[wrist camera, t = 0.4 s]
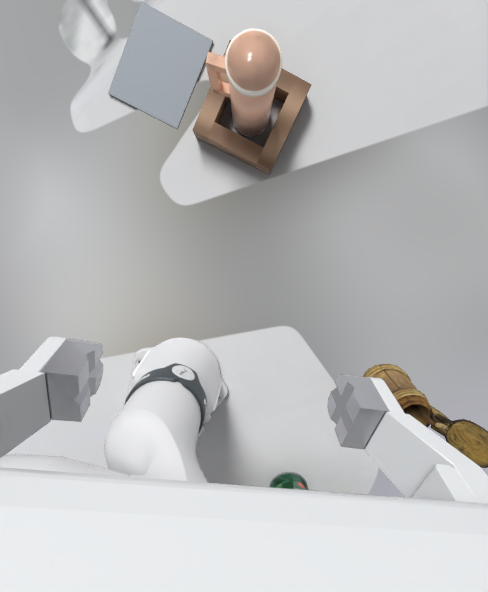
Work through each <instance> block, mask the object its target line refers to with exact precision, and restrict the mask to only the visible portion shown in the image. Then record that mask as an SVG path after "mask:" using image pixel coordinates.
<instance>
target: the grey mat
mask: <svg viewBox="0 0 488 592" xmlns="http://www.w3.org/2000/svg"><path fill="white" fill-rule="evenodd" d="M212 43H213V40H211V39H209V38H207V37H205V36H204V35H202V34H200V33H198V32H196V31H194V30H193V29H191V28H189V27H187V26H185V25H183V24H182V23H180V22H178V21H176V20H174V19H172V18H171V17H169V16H167V15H165V14H163V13H162V12H160V11H158V10H156V9H154V8H152V7H151V6H149V5H147V4H145V3H143V2H141V3H140V6H139V9H138V12H137V14H136V17H135V20H134V23H133V26H132V28H131V31H130V34H129V37H128V39H127V42H126V45H125V48H124V51H123V53H122V56H121V59H120V62H119V65H118V67H117V70H116V73H115V76H114V78H113V81H112V84H111V87H110V90H109V92H108V94H110V95H112V96H113V97H115V98H117V99H119V100H121V101H123V102H125V103H127V104H129V105H131V106H133V107H135V108H137V109H139V110H141V111H143V112H145V113H147V114H148V115H150V116H153V117H154V118H156V119H158V120H160V121H162V122H164V123H166V124H168V125H170V126H172V127H174V128H176V129H178V127H179V124H180V122H181V120H182V117H183V115H184V112H185V110H186V107H187V105H188V102H189V100H190V98H191V95H192V93H193V90H194V88H195V85H196V83H197V80H198V78H199V75H200V73H201V71H202V68H203V66H204V63H205V61H206V58H207V54H208V52H209V51H210V48H211V46H212Z"/></svg>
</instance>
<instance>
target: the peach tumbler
mask: <svg viewBox="0 0 488 592" xmlns="http://www.w3.org/2000/svg"><path fill="white" fill-rule="evenodd" d="M206 67H207V71H208V76H209V80H210V85H211V89H212V92H213V93H216V94H219V95H222V96H226V97H229V98H230V99H231V108H232V118H233V123H234V126H235V127H236V129H237V130H238V131H239V132H240V133H241V134H243V135H245V136H256V135H258V134H260V133H262V132H263V131H264V129H265V128H266V127H267V124H268V121H269V116H270V112H271V107H272V102H273V97H274V93H275V88H276V83H277V81H278V79H279V76H280V72H281V68H282V53H281V49H280V47H279V45H278V43H277V41H276V40H275V39H274V37H273V36H272V35H270V34H269V33H267V32H266V31H264V30H261V29H247V30H244V31H242V32H240V33H239V34H237V35H236V36H235V37H234V38H233V39H232V41H231V42H230V44H229V46H228V48H227V51H226V56H225V57H224V56H221V55H217V54H214V53H211V52H208V54H207V58H206ZM221 73H224V74H227V77H228V80H229V84H228V83H224V82H222V79H221Z"/></svg>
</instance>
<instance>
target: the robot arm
mask: <svg viewBox="0 0 488 592" xmlns="http://www.w3.org/2000/svg"><path fill="white" fill-rule="evenodd" d="M102 354H103V346H102V344H101V343H96V342H90V341H83V340H76V339H70V338H69V339H67V338H61V337H54V336H52V337H49V338H47V339H46V341H45V342H44V343H43V344H42V345H41V346H40V347H39V348H38V350H36V352H35V353H34V354H33V355H32V356H31V357H30V358H29V359H28V361H27V362H26V363H25V364H24V365H23V366H22V367H21V368H20V370H15V369H13V370H11V371H8V372H6V373H4V374H1V375H0V592H488V476H487V475H486V474H485V473H484V472H483V470H482V469H481V467H480V466H478V465H477V464H476V463H474V462H473V461H472V460H470V459H469V458H468V457H466V456H465V455H463V454H462V453H461V452H459V451H458V450H457V449H455V448H454V447H453V446H451V445H450V444H449V443H447V442H446V441H445V440H443V439H442V438H441V437H439V436H438V435H436V434H435V433H434V432H432V431H431V430H430V429H428V428H427V427H426V426H424V425H423V424H422V423H420V422H419V421H418V420H416V419H415V418H414V417H412V416H411V415H410V414H405V413H404V411H403V410H402V408H401V407H400V405H399V403H398V402H397V400H396V399H395V397H394V396H393V394H392V393H391V391H390V389H389V388H388V386H387V385H386V383H385V382H384V381H383V380H382V379H381V378H372V377H360V376H352V375H344V374H340V375H339V376H338V377H337V379H336V382H335V383H336V386H337V388H336V389H334V390H333V391H331V393H330V396H329V398H328V413H329V415H330V418H331V419H332V420H333V421H334V422H335V423H336V424H337V425H336V427H335V429H334V430H335V432H336V435H337V438H338V440H339V443H340V446H341V447H349V448H357V449H365V450H364V451H365V452H366V453H367V454H368V456H369V457H370V458H371V459H372V460H373V461H374V462H375V463H376V465H377V466H378V467H379V468H380V469H381V470H382V471H383V473H384V474H385V475H386V476H387V477H388V478H389V479H390V480H391V482H392V483H393V484H394V485H395V486H396V487H397V488H398V489H399V491H400V492H401V493H402V494H403V495H404V496H405V497H406V498H405V497H392V496H378V495H365V494H352V493H338V492H325V491H311V490H298V489H285V488H271V487H258V486H244V485H231V484H217V483H209V482H208V481H207V479H206V477H205V475H204V474H203V472H202V470H201V468H200V465H199V463H198V460H197V457H196V445H197V438H199V437H200V436H201V434H202V432H203V430H204V426H203V424H204V423H205V422H207V423H208V422H209V421H210V419H211V414H212V413H213V412H214V411H215V409H216V408H217V407H218V406H219V405H220V403H221V402H222V401H223V400H224V398H225V397H226V396H227V393H228V388H227V386H226V384H225V382H224V381H223V379H222V378H221V374H220V367H219V364H218V361H217V359H216V357H215V356H214V354H213V353H212V352H211V351H210V349H208V348H207V347H206V346H205V345H203V344H202V343H200V342H198V341H196V340H192V339H189V338H173V339H169V340H166V341H164V342H162V343H160V344H159V345H157V346H155V347H152V348H145V349H140V350H139V351H137V353H136V355H135V359H134V363H133V368H132V373H131V378H130V383H129V388H128V393H127V398H126V401H125V405H124V406H123V408H122V409H121V411H120V412H119V413H118V415H117V416H116V418H115V419H114V420H113V422H112V423H111V425H110V427H109V429H108V431H107V434H106V437H105V444H104V450H105V457H106V461H107V465H108V468H109V469H106V468H102V467H99V466H95V465H91V464H87V463H84V462H80V461H76V460H73V459H69V458H65V457H58V456H43V455H13V454H10V455H5V454H7V453H8V452H9V451H11V450H12V449H13V448H15V447H16V446H18V445H19V444H20V443H22V442H23V441H24V440H26V439H27V438H28V437H30V436H31V435H33V434H34V433H35V432H37V431H38V430H39V429H41V428H42V427H43V426H45V425H46V424H48V423H49V422H50V421H51V420H64V421H79V422H81V421H82V419H83V417H84V415H85V413H86V411H87V409H88V408H89V406H90V397H91V396H92V395H94V394H96V392H97V390H98V388H99V386H100V383H101V379H102V374H103V364H102V362H101V361H100V358H101V356H102ZM140 360H141V362H139V361H140ZM219 396H220V397H219Z"/></svg>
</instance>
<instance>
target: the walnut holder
mask: <svg viewBox="0 0 488 592" xmlns="http://www.w3.org/2000/svg"><path fill="white" fill-rule="evenodd" d="M230 42H231V40H230V41H229V44H230ZM229 44H228V46H229ZM228 46H227V48H228ZM226 51H227V49H226ZM226 51H225V53H224V57H225V56H226ZM221 79H222V82H224V83H228V84H229V80H228V77H227V74H224V73H221ZM310 87H311V84H309V83H308V82H306V81H304V80H302V79H300V78H298V77H297V76H295V75H293V74H291V73H289V72H288V71H286V70H284V69H282V68H281V72H280V76H279V79H278V81H277V83H276V88H275V93H274V97H275V98H277V99H279V100H281V101H283V102H285V103H284V105H283V107H282V109H281V111H280V114H279V116H278V118H277V120H276V122H275V124H274V127H273V129H272V131H271V133H270V135H269V137H268V140H267V142H266V144H265V146H264V148H263V147H261V146H260V145H258V144H256V143H254V142H252V141H250V140H248V139H246V138H244V137H242V136H240V135H239V134H237V133H235V132H233V131H231V130H229V129H227V128H225V127H223V126H221V125H219V122H220V120H221V117H222V115H223V113H224V110H225V108H226V106H227V103H228V101H229V99H230V98H229V97H226V96H222V95H219V94H216V93H213V92H212V89H211V87H210V89H209V92H208V94H207V97H206V99H205V101H204V104H203V106H202V109H201V111H200V114H199V116H198V118H197V121H196V123H195V126H194V128H193V132H194V134H195V136H196V137H197V138H199V139H201V140H202V141H204V142H206V143H208V144H210V145H212V146H214V147H216V148H218V149H220V150H222V151H224V152H226V153H228V154H230V155H232V156H234V157H235V158H237V159H239V160H241V161H243V162H245V163H247V164H249V165H251V166H253V167H255V168H257V169H259V170H261V171H263V172H265V173H267V174H268V175H269V174H270V172H271V170H272V168H273V165H274V163H275V161H276V159H277V157H278V155H279V153H280V151H281V149H282V146H283V144H284V142H285V140H286V138H287V136H288V134H289V132H290V129H291V127H292V125H293V123H294V121H295V119H296V117H297V115H298V113H299V110H300V108H301V106H302V104H303V102H304V100H305V98H306V96H307V93H308V91H309V89H310Z"/></svg>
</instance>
